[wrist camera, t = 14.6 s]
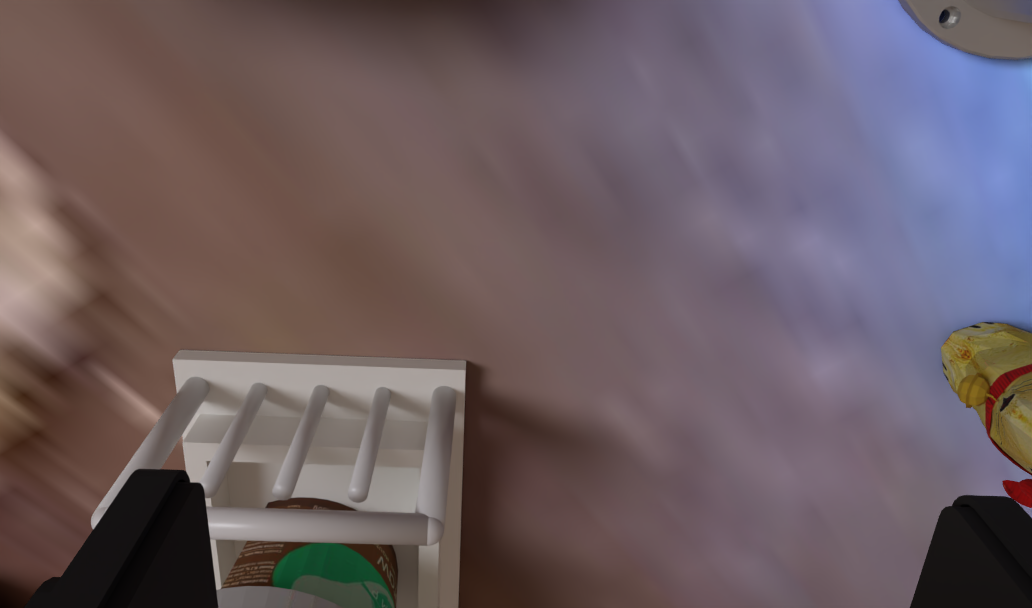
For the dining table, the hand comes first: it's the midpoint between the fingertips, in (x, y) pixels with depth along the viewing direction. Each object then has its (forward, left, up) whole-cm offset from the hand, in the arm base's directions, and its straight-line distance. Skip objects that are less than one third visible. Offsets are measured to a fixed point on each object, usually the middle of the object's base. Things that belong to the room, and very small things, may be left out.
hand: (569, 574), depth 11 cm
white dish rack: (+9, +24, -28) cm, 38 cm away
